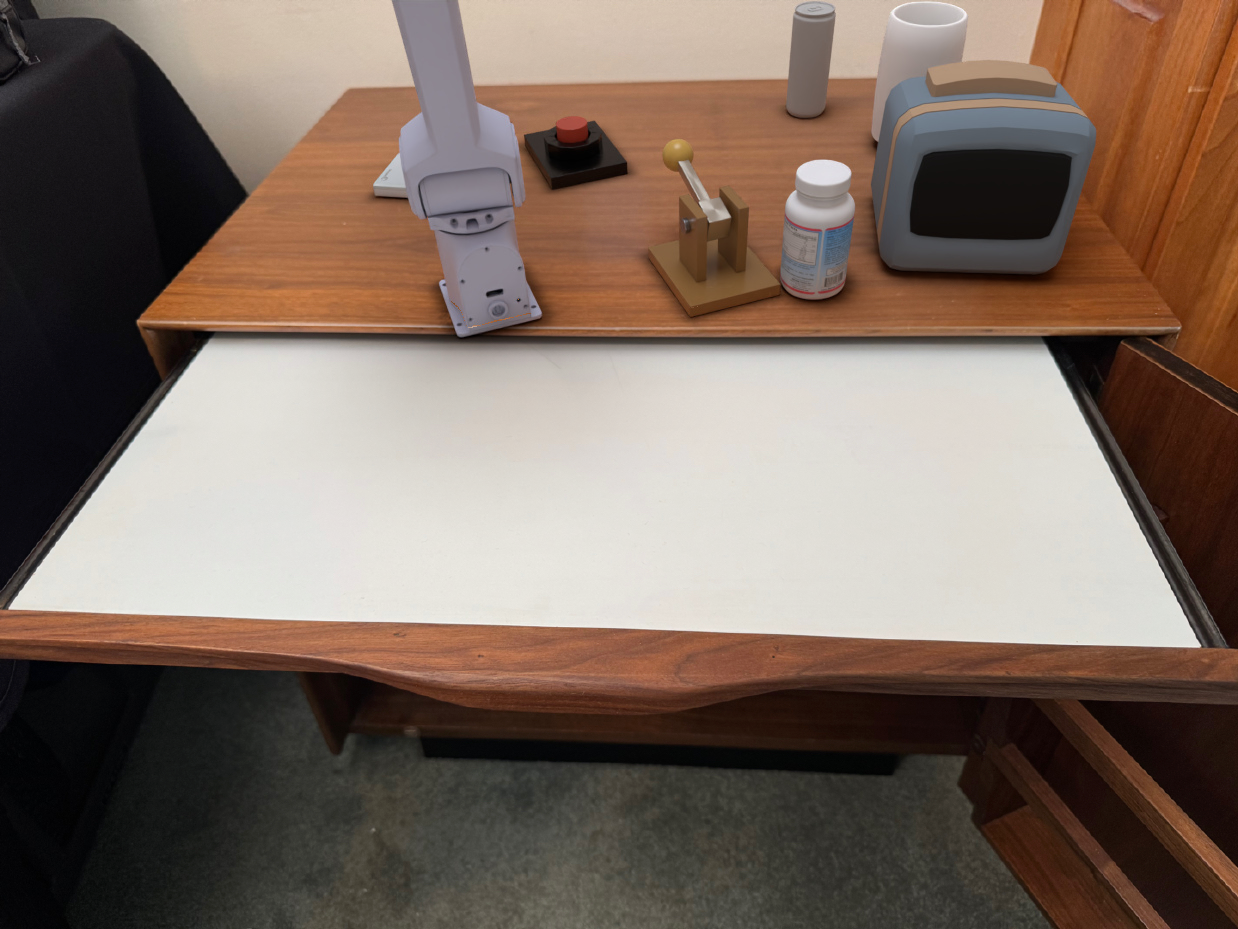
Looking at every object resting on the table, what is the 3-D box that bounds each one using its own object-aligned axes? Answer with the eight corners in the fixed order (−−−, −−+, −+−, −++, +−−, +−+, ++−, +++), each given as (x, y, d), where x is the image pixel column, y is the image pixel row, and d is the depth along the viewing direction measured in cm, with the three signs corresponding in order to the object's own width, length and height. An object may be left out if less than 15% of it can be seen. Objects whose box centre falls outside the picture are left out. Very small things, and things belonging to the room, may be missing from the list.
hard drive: (371, 184, 98) (476, 190, 96) (399, 150, 104) (499, 155, 102) (375, 197, 99) (479, 203, 97) (402, 163, 105) (501, 168, 103)
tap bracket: (648, 257, 88) (645, 184, 82) (731, 237, 89) (734, 165, 84) (690, 317, 80) (690, 241, 75) (779, 294, 82) (786, 219, 76)
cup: (854, 135, 104) (872, 6, 94) (919, 123, 105) (944, -5, 95) (888, 166, 98) (912, 32, 88) (957, 154, 99) (987, 20, 89)
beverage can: (778, 108, 110) (785, 5, 102) (810, 99, 112) (820, -3, 103) (799, 122, 107) (809, 17, 99) (832, 113, 108) (845, 9, 100)
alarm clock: (876, 277, 83) (907, 111, 72) (866, 192, 94) (891, 37, 83) (1060, 283, 81) (1120, 112, 70) (1026, 195, 92) (1074, 36, 81)
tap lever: (656, 160, 86) (659, 135, 84) (685, 154, 87) (688, 129, 84) (701, 245, 81) (705, 220, 78) (731, 238, 81) (736, 213, 79)
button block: (627, 173, 100) (626, 148, 98) (552, 189, 99) (549, 164, 96) (595, 131, 108) (593, 107, 106) (525, 145, 107) (521, 121, 105)
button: (592, 140, 101) (591, 125, 100) (562, 146, 100) (560, 131, 99) (583, 128, 103) (581, 113, 102) (553, 134, 102) (552, 119, 101)
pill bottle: (836, 263, 85) (852, 152, 77) (850, 300, 81) (868, 186, 73) (773, 268, 85) (782, 157, 77) (784, 304, 81) (795, 191, 73)
